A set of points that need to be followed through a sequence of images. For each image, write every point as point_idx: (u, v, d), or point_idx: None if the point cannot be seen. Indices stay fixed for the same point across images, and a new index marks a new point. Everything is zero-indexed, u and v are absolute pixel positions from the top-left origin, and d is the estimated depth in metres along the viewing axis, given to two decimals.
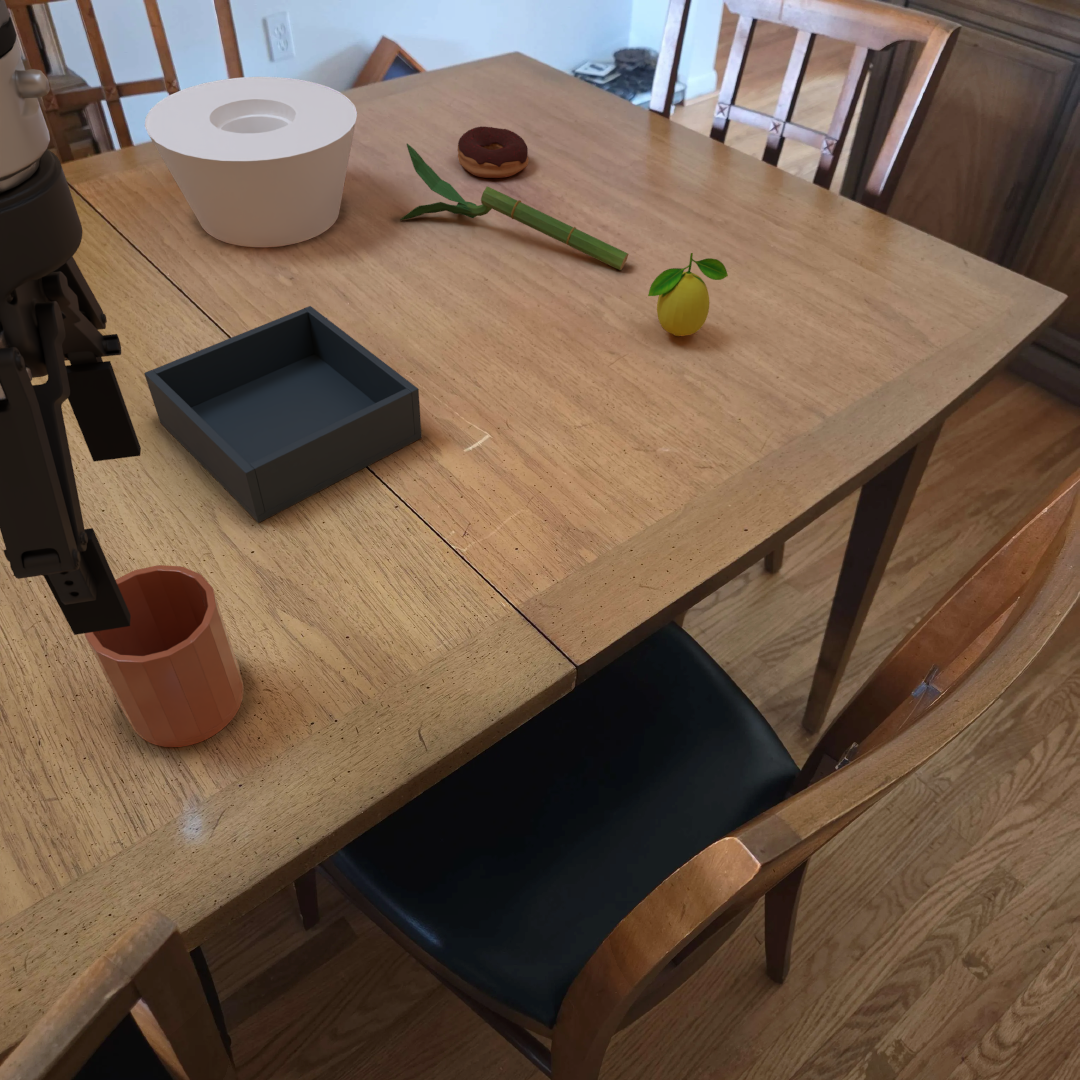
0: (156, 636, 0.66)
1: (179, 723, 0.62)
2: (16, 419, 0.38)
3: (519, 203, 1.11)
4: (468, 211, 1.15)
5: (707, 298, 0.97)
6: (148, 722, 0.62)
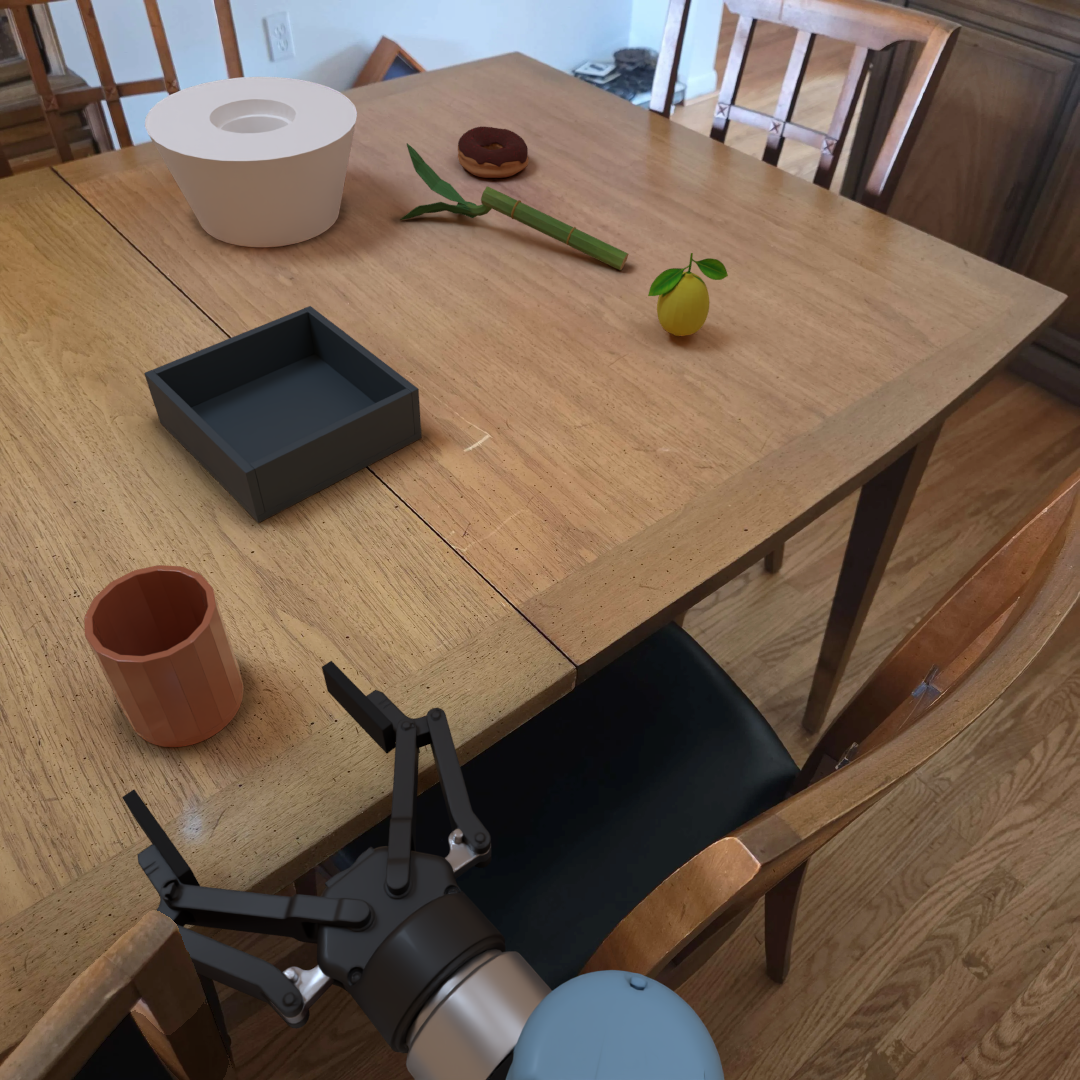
0: (156, 636, 0.66)
1: (179, 723, 0.62)
2: (257, 995, 0.48)
3: (519, 203, 1.11)
4: (468, 211, 1.15)
5: (707, 298, 0.97)
6: (148, 722, 0.62)
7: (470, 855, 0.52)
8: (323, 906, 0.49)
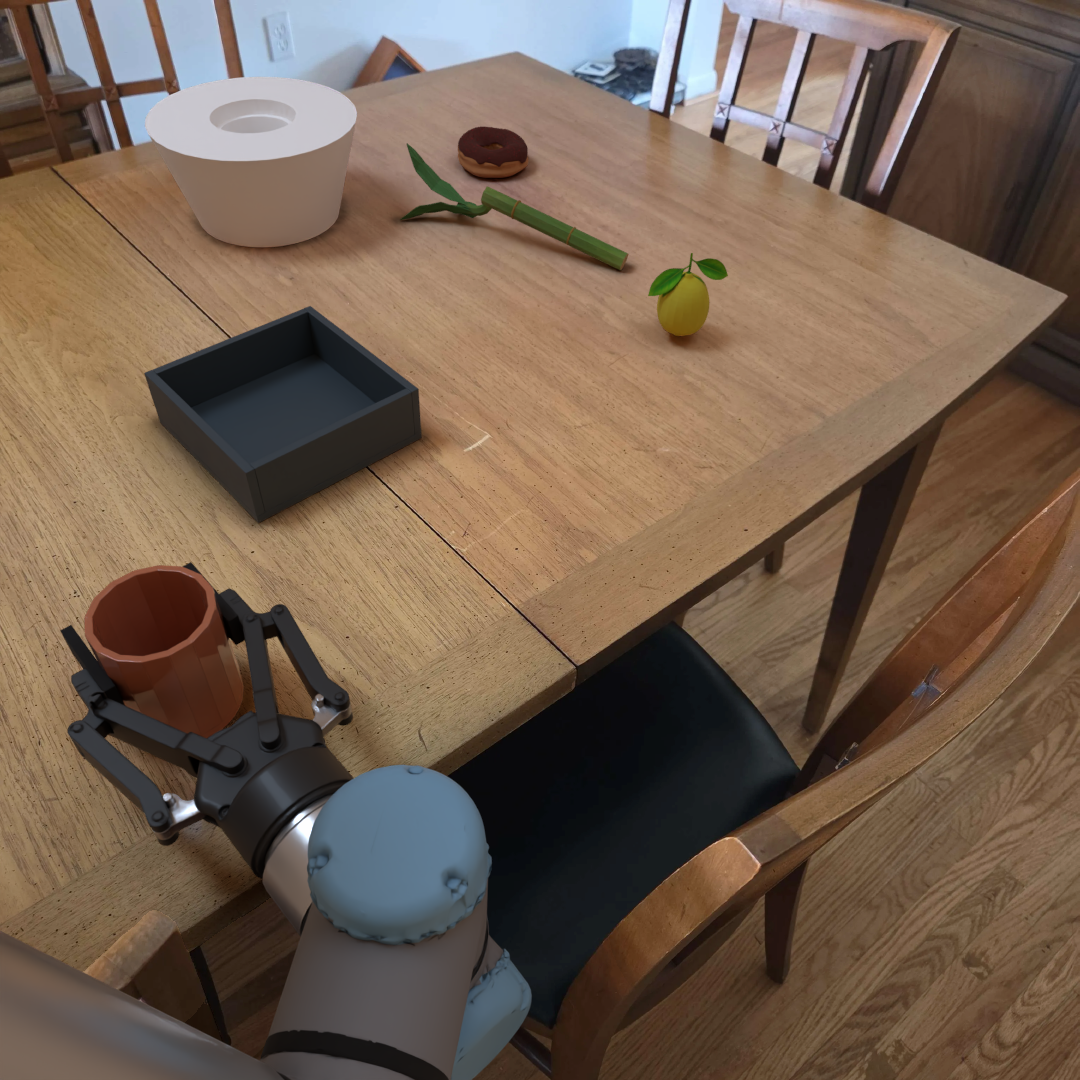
0: (156, 636, 0.66)
1: (179, 723, 0.62)
2: (142, 809, 0.55)
3: (519, 203, 1.11)
4: (468, 211, 1.15)
5: (707, 298, 0.97)
6: None
7: (333, 713, 0.59)
8: (207, 747, 0.56)
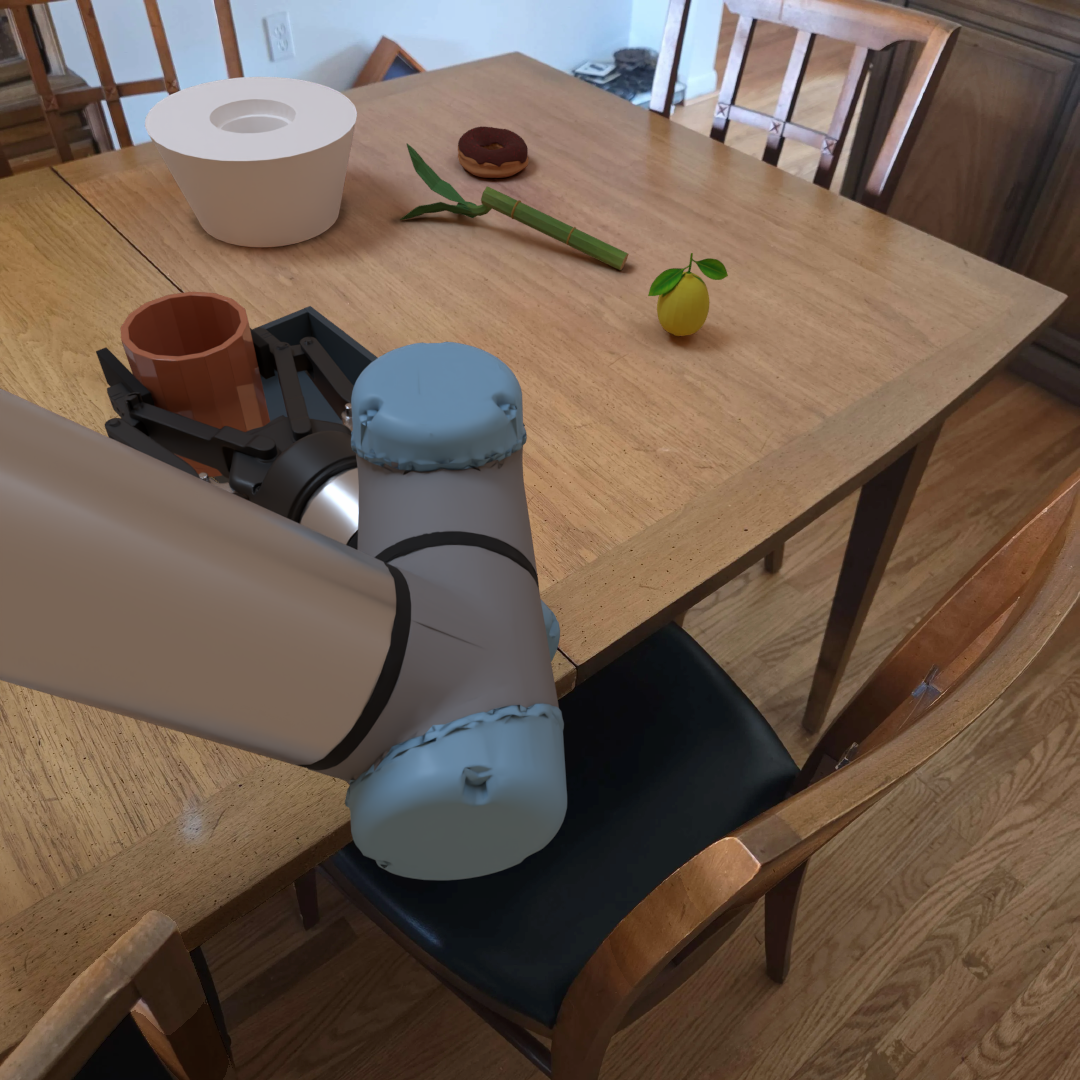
0: None
1: None
2: None
3: (519, 203, 1.11)
4: (468, 211, 1.15)
5: (707, 298, 0.97)
6: None
7: None
8: (241, 437, 0.57)
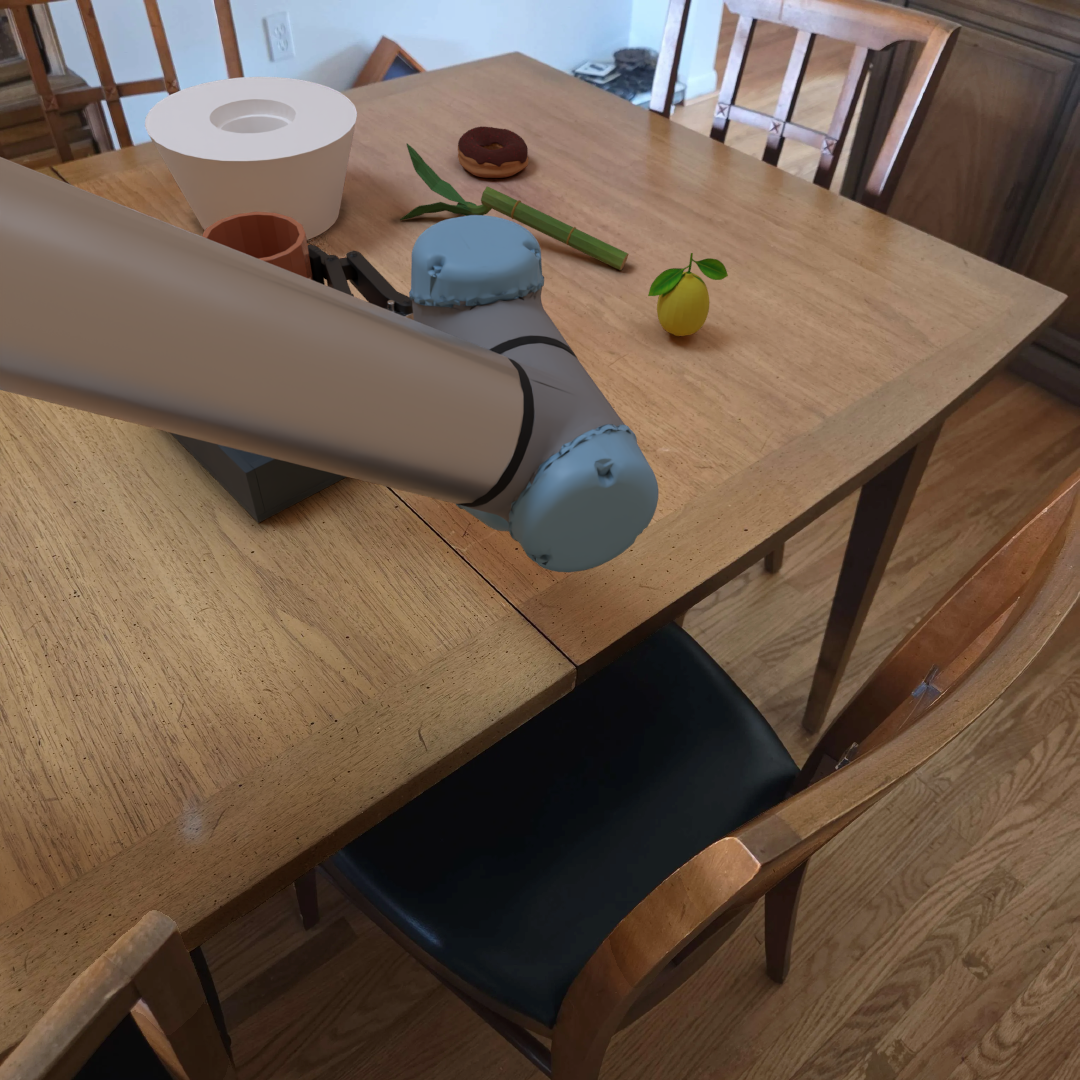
0: None
1: None
2: None
3: (519, 203, 1.11)
4: (468, 211, 1.15)
5: (707, 298, 0.97)
6: None
7: (402, 315, 0.73)
8: None
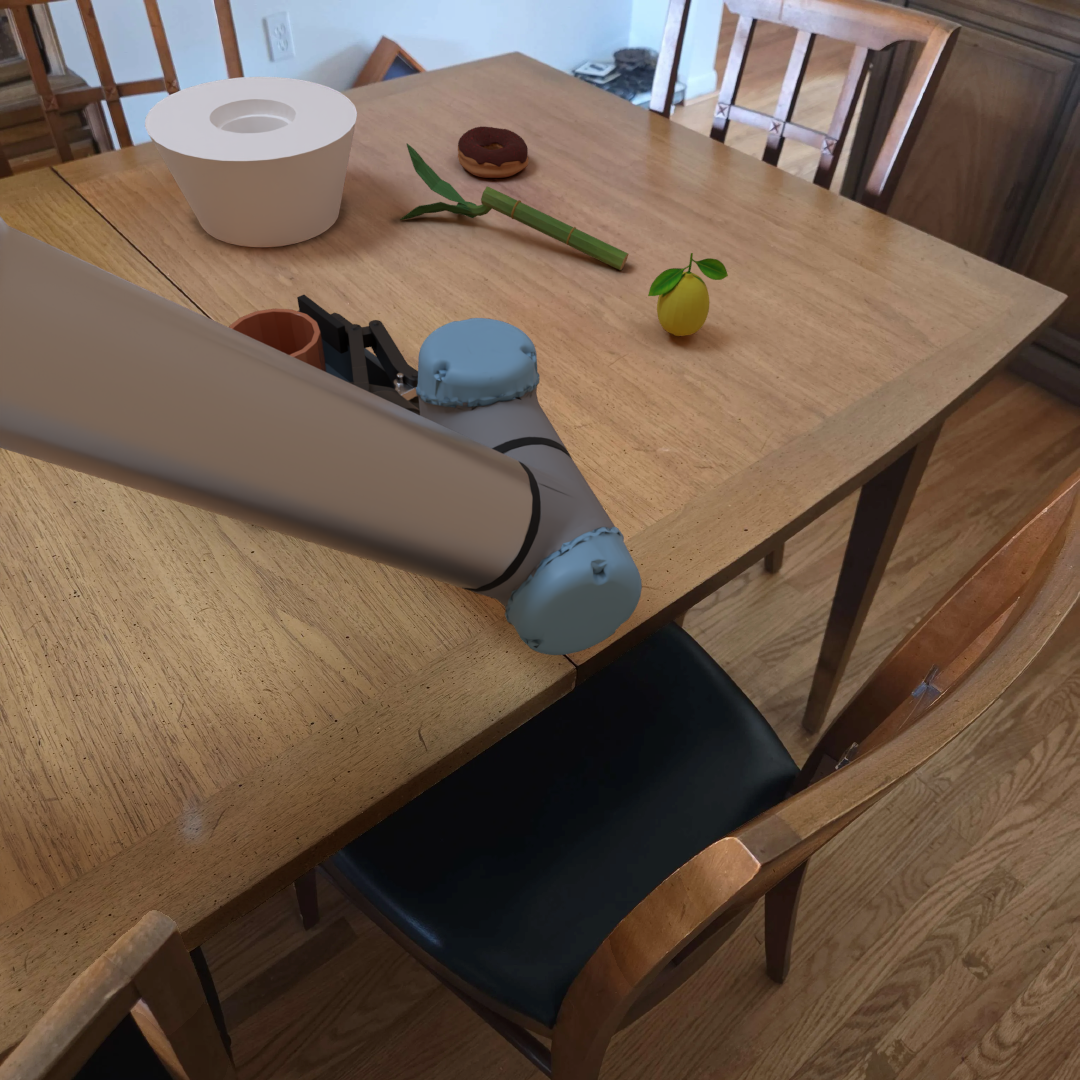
0: None
1: None
2: None
3: (519, 203, 1.11)
4: (468, 211, 1.15)
5: (707, 298, 0.97)
6: None
7: (409, 388, 0.78)
8: None
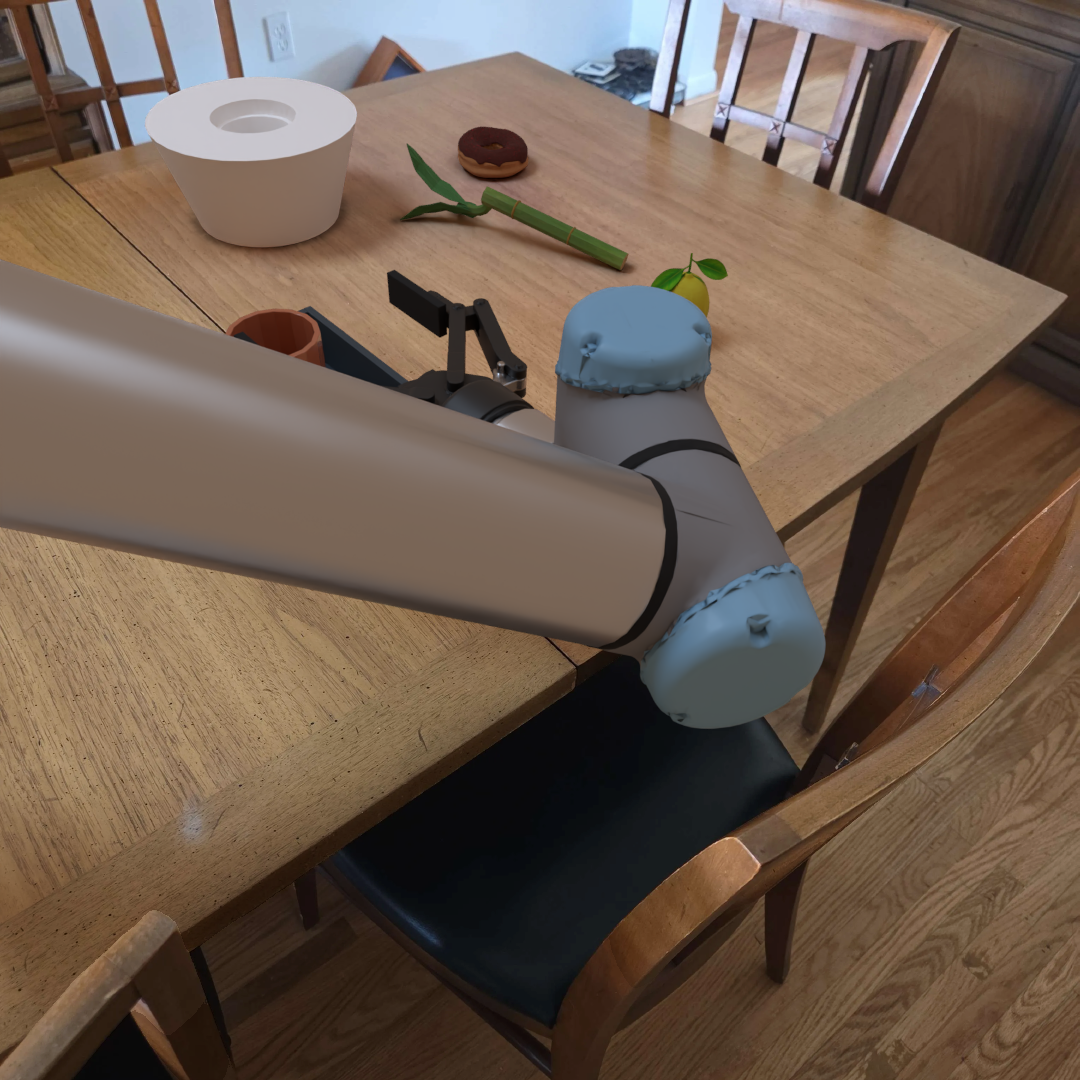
0: None
1: None
2: None
3: (519, 203, 1.11)
4: (468, 211, 1.15)
5: (707, 298, 0.97)
6: None
7: (510, 380, 0.66)
8: (398, 392, 0.62)
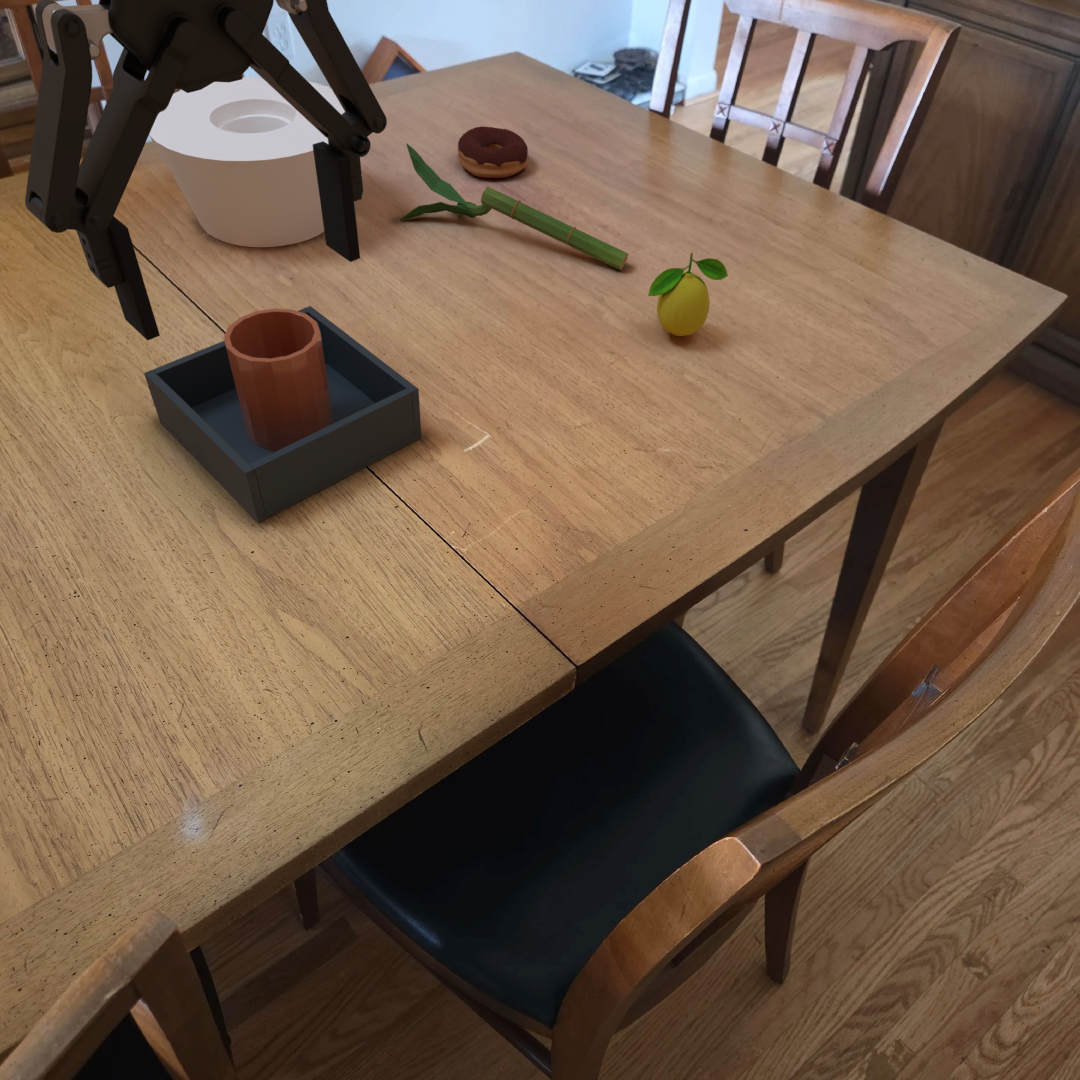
0: None
1: (289, 427, 0.83)
2: (58, 77, 0.42)
3: (519, 203, 1.11)
4: (468, 211, 1.15)
5: (707, 298, 0.97)
6: (267, 425, 0.82)
7: None
8: None
